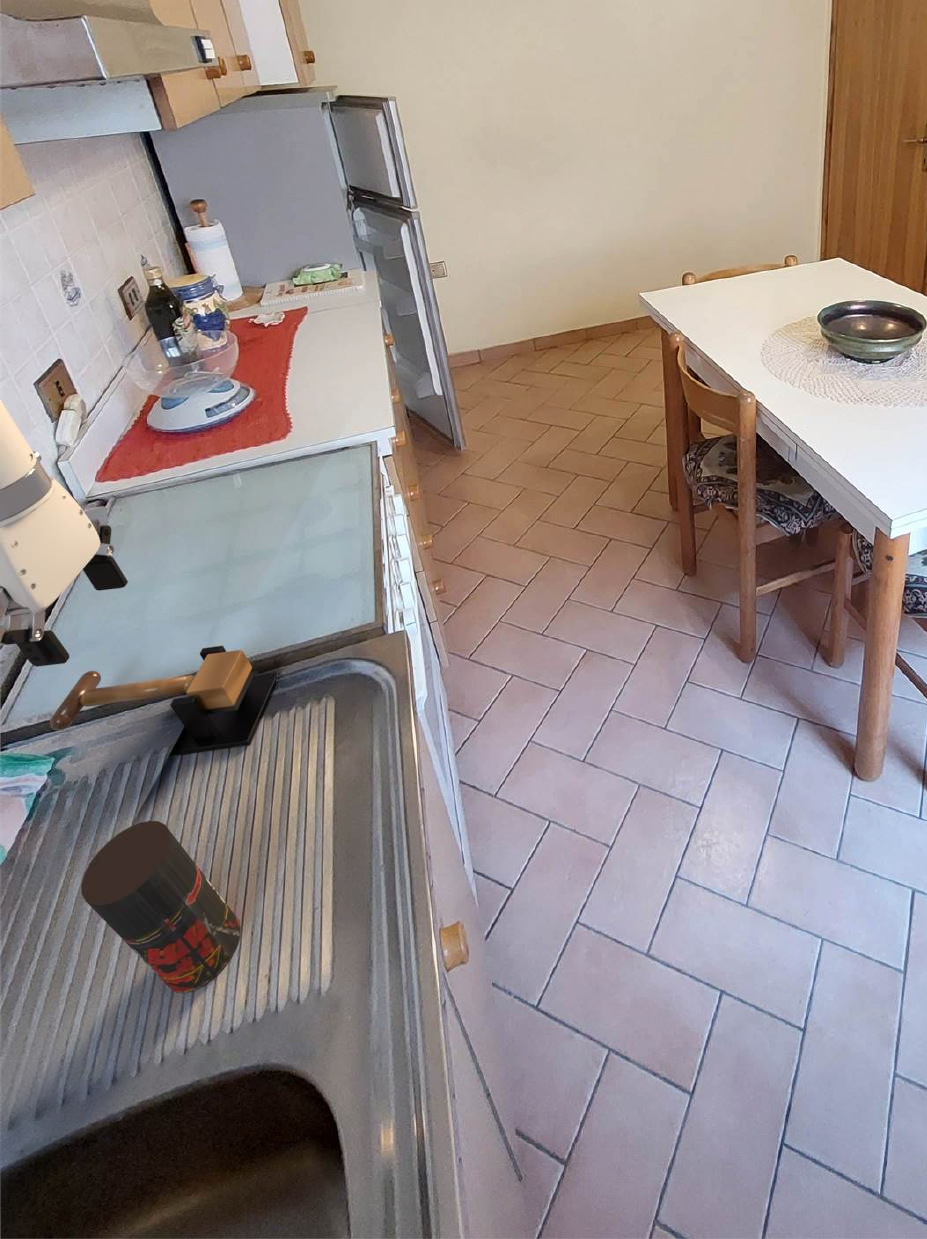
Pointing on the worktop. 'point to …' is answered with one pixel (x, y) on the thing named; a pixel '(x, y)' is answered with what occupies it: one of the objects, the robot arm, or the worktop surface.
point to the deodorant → (162, 906)
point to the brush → (166, 688)
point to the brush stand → (222, 717)
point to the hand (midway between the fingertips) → (84, 622)
